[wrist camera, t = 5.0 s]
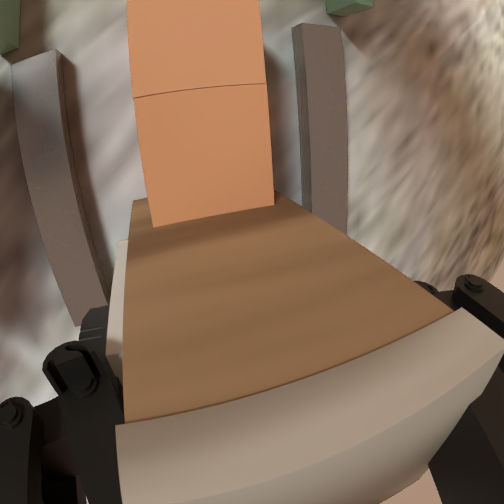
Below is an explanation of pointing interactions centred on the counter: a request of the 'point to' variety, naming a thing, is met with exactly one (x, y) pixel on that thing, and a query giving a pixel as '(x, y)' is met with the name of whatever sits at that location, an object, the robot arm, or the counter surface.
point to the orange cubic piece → (205, 151)
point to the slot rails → (65, 177)
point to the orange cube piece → (194, 44)
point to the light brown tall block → (283, 364)
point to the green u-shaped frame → (8, 4)
